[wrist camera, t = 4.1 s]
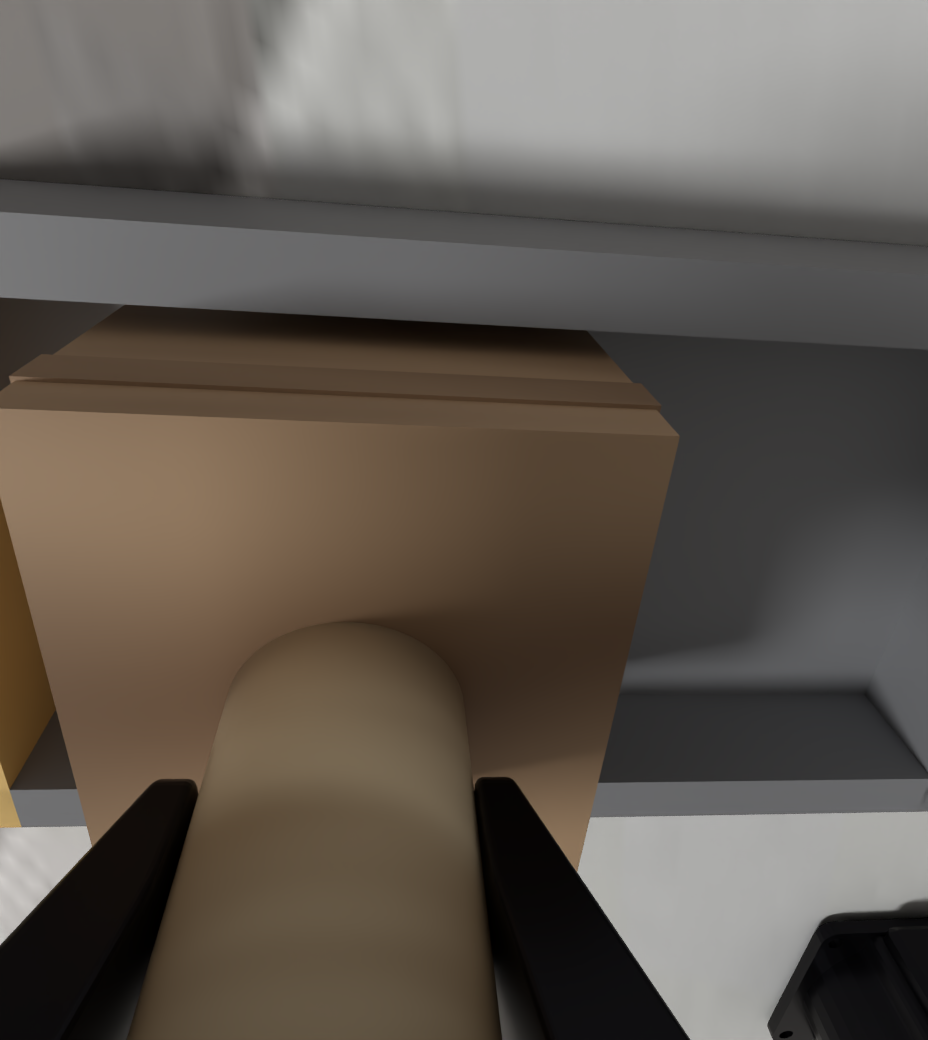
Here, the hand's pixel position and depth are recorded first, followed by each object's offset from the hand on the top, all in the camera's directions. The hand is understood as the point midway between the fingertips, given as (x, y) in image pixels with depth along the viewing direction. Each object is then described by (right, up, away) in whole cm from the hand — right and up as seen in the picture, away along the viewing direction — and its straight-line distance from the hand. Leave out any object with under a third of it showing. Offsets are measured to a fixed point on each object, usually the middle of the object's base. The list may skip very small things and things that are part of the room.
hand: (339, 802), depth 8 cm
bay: (+2, +4, +7) cm, 8 cm away
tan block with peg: (0, +3, +6) cm, 6 cm away
